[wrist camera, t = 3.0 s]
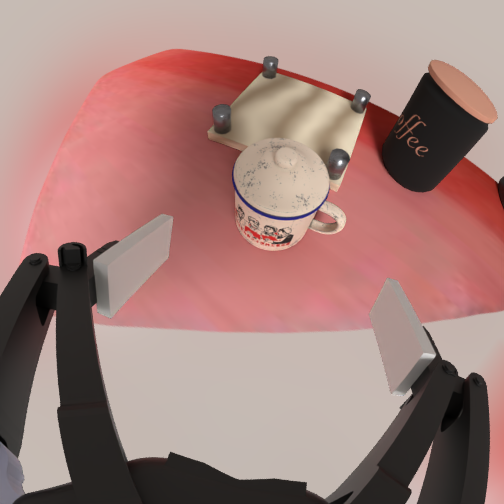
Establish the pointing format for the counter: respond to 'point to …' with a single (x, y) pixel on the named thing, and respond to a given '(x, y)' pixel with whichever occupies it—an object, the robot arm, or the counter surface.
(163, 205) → the counter surface
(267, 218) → the teacup with lid
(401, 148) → the coffee jar
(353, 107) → the set of grey pegs
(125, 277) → the robot arm
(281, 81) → the birch board
